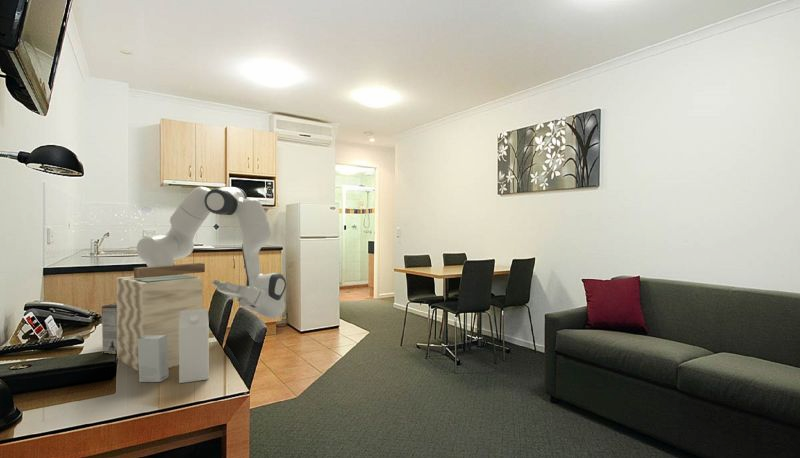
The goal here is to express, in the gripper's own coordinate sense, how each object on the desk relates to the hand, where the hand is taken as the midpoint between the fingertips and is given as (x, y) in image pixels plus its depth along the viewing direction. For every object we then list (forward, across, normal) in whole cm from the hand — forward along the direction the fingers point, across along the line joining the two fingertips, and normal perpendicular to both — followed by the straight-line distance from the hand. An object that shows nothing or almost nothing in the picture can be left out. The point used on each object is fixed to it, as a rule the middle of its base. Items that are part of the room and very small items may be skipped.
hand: (220, 282), depth 154 cm
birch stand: (+9, +6, +30) cm, 32 cm away
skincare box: (+17, +24, +34) cm, 45 cm away
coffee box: (+13, -14, +32) cm, 38 cm away
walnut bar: (+17, 0, +4) cm, 18 cm away
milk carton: (+10, +31, +30) cm, 45 cm away
